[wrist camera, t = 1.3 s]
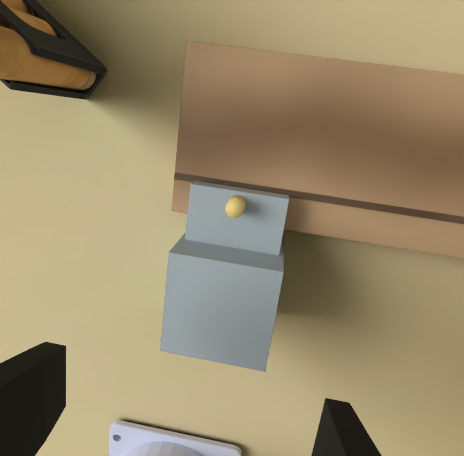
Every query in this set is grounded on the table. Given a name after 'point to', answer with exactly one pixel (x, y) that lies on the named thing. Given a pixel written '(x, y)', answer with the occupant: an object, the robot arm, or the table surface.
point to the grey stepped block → (226, 276)
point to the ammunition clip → (43, 53)
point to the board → (329, 143)
